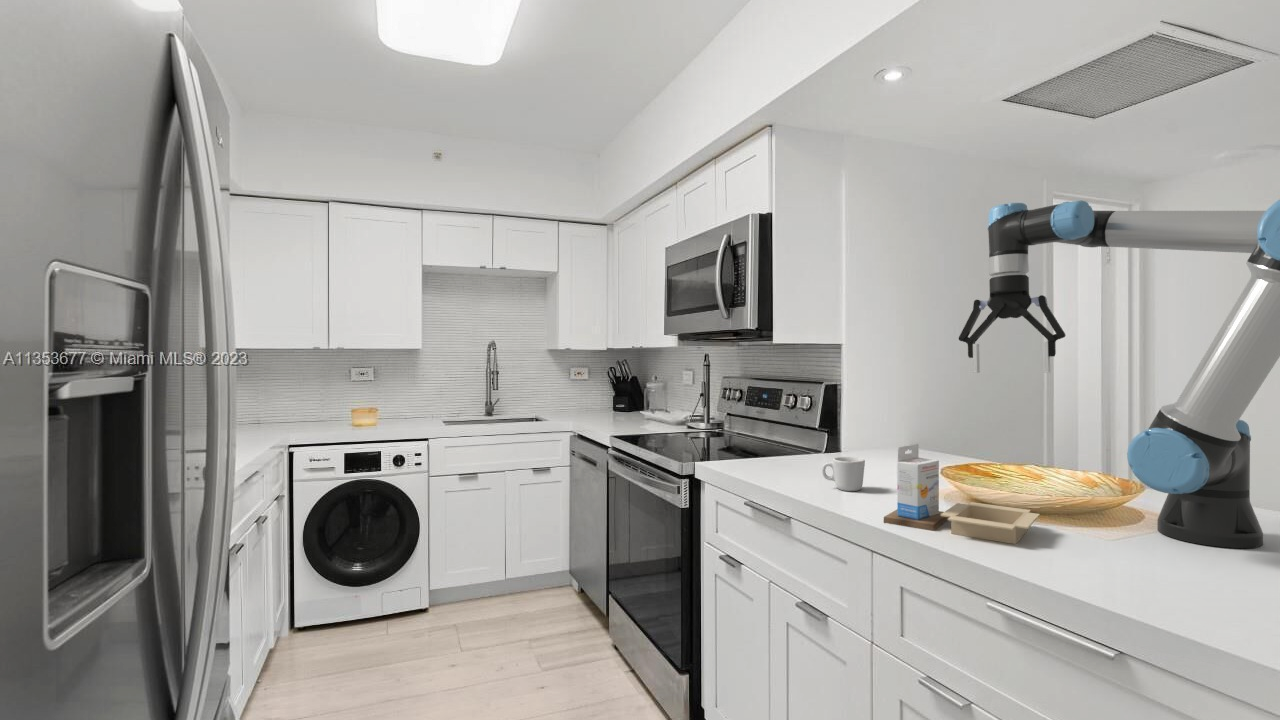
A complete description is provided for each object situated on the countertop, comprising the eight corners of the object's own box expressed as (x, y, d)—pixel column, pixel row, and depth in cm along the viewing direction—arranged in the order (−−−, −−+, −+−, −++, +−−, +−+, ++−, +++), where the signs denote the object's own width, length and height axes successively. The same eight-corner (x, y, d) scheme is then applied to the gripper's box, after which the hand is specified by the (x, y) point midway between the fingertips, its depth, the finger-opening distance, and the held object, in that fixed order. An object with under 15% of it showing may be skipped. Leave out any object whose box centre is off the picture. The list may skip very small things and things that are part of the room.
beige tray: (1041, 528, 130) (1041, 511, 130) (1025, 549, 117) (1025, 530, 117) (960, 516, 140) (960, 500, 140) (936, 534, 127) (936, 517, 127)
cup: (820, 490, 168) (820, 460, 168) (823, 484, 175) (823, 455, 175) (864, 493, 164) (864, 462, 164) (865, 487, 171) (865, 457, 171)
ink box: (918, 520, 133) (918, 449, 133) (896, 516, 137) (896, 447, 137) (940, 514, 138) (939, 445, 138) (918, 509, 142) (917, 443, 142)
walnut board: (950, 518, 139) (950, 512, 139) (933, 530, 130) (933, 524, 130) (903, 511, 146) (903, 505, 146) (883, 522, 137) (883, 516, 137)
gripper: (1078, 271, 136) (1080, 371, 137) (951, 282, 152) (953, 372, 152) (1075, 268, 131) (1077, 372, 131) (943, 279, 146) (945, 373, 146)
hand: (1010, 372), depth 141 cm, fingers open, 13 cm apart
